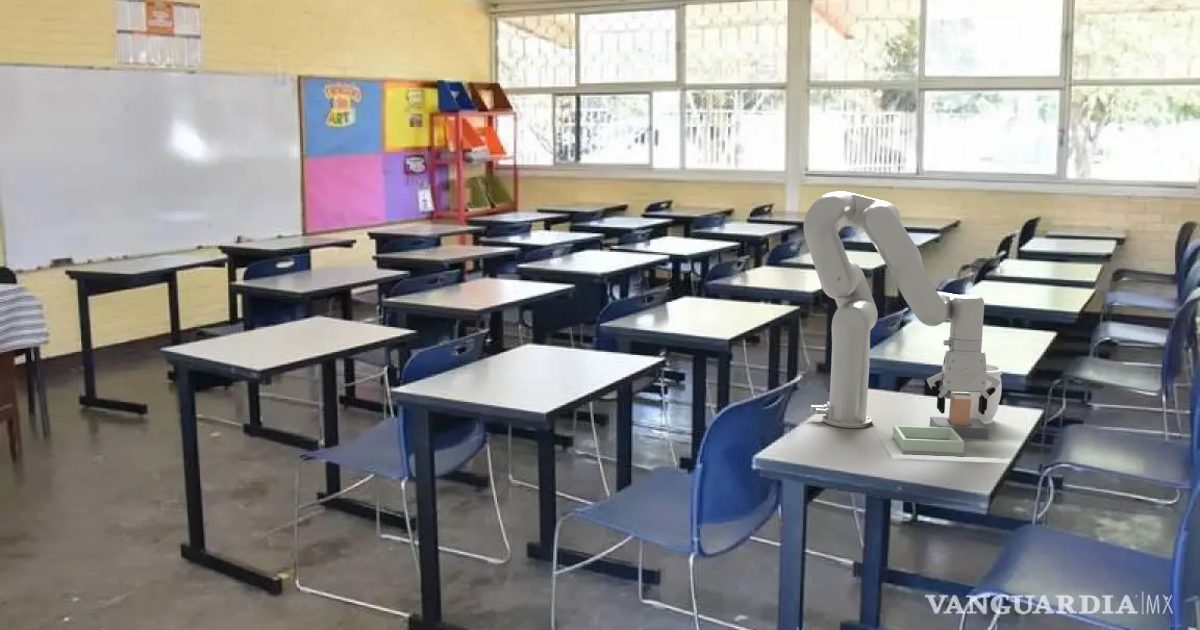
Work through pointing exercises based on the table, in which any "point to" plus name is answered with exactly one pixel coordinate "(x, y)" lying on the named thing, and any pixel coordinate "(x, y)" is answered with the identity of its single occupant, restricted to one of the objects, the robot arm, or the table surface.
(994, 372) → the jar
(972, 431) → the grey block
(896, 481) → the table surface
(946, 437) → the tray
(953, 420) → the plug
